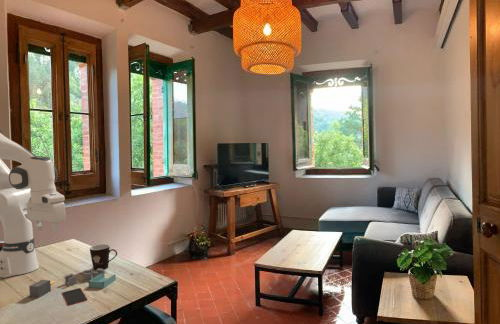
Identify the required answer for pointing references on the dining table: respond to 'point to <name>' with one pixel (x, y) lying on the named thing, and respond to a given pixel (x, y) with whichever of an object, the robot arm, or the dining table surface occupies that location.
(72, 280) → the clip
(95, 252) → the coffee mug
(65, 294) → the smartphone
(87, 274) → the clip
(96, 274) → the clip
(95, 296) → the dining table surface
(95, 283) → the dock
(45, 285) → the connector plug
